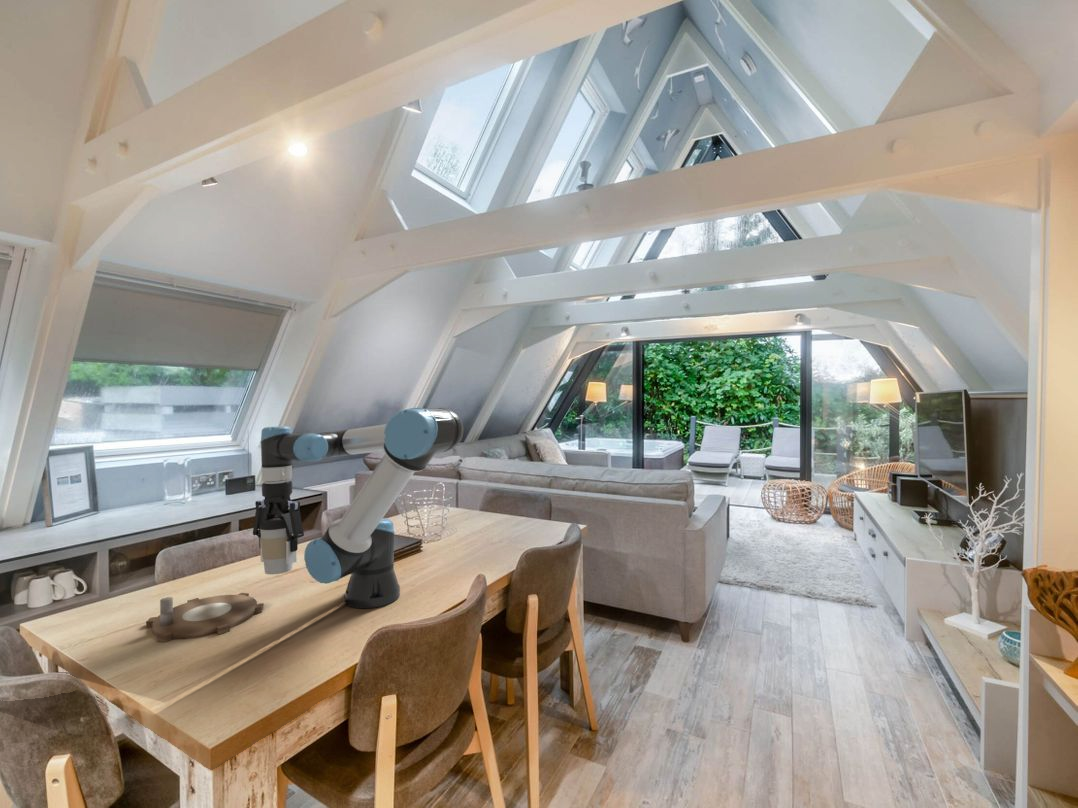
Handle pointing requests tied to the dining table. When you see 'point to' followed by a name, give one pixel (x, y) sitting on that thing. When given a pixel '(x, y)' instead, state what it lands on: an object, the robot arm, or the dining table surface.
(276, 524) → the coffee cup
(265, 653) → the dining table surface
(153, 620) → the index disc
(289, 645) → the dining table surface
